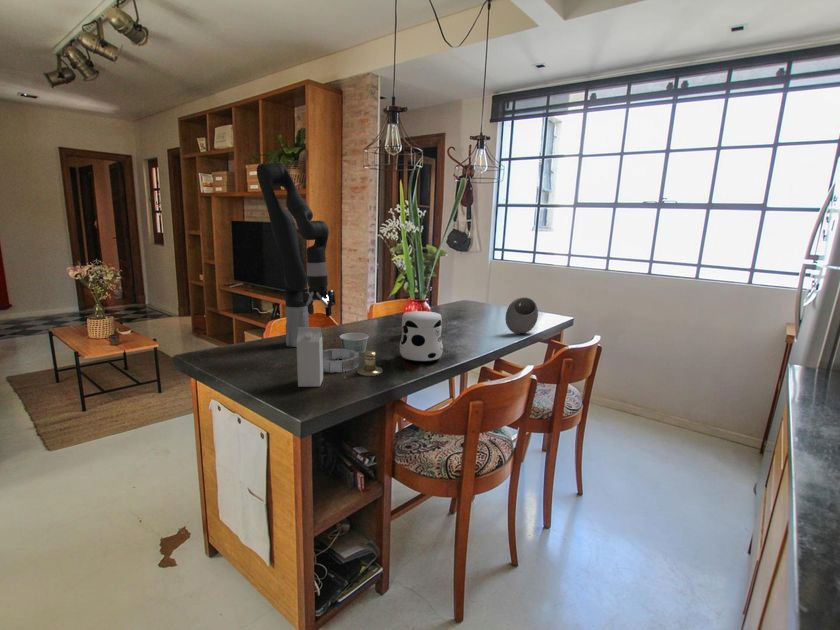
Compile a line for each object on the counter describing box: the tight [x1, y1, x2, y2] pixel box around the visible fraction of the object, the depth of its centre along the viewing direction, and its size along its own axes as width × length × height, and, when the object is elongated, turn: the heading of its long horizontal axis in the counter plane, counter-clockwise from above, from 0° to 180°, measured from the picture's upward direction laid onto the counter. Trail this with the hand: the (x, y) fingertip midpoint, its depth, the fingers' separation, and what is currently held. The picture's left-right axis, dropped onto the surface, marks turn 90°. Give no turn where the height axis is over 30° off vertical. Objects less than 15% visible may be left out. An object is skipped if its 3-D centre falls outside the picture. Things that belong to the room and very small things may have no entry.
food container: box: [339, 332, 370, 355], centre depth 179 cm, size 12×12×6 cm
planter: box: [505, 296, 539, 335], centre depth 214 cm, size 18×7×19 cm, turn 110°
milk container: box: [399, 310, 444, 363], centre depth 169 cm, size 17×17×18 cm
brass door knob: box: [356, 350, 384, 377], centre depth 153 cm, size 9×9×7 cm
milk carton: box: [296, 326, 324, 388], centre depth 140 cm, size 7×7×19 cm
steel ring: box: [323, 348, 360, 374], centre depth 160 cm, size 17×17×4 cm
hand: (319, 315), depth 168 cm, fingers open, 8 cm apart
